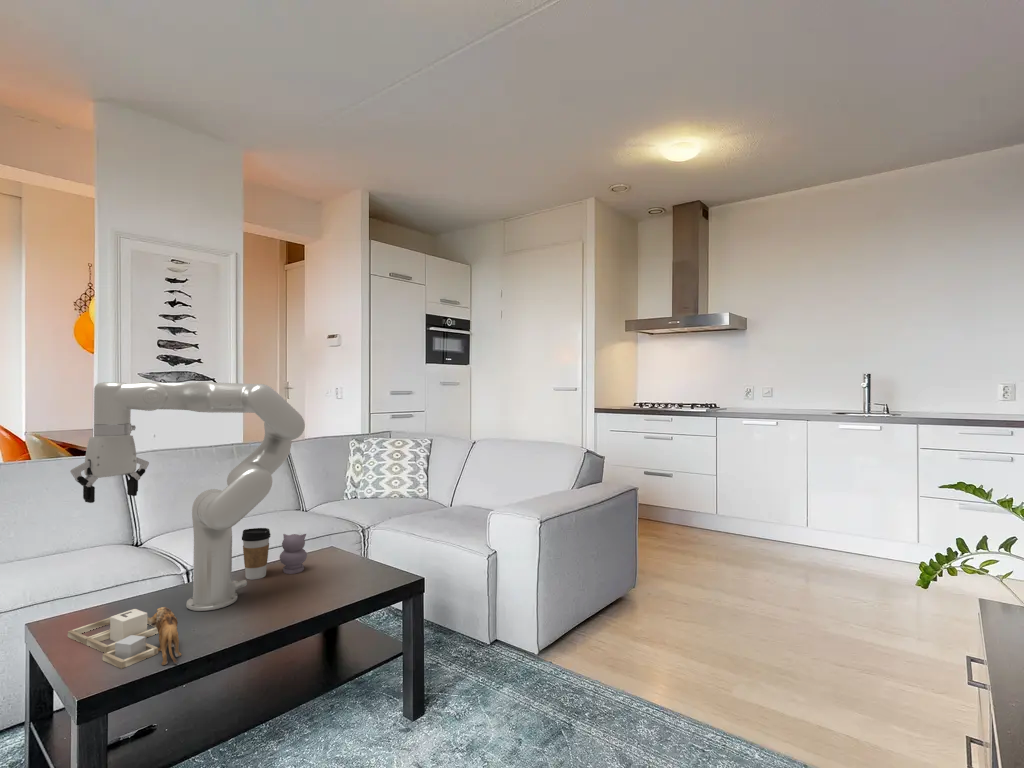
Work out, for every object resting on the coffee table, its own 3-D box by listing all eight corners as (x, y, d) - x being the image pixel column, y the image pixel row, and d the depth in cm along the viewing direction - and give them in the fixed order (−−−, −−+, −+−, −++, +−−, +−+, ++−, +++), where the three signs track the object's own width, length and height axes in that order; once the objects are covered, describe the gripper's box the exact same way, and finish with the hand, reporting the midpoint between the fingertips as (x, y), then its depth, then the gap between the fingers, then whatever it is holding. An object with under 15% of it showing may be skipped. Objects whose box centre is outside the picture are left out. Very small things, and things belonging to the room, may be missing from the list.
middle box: (149, 622, 141) (149, 617, 141) (168, 629, 137) (168, 624, 137) (86, 645, 129) (86, 639, 129) (105, 653, 125) (105, 647, 125)
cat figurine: (275, 574, 178) (275, 537, 178) (285, 566, 185) (285, 531, 186) (301, 574, 178) (302, 537, 178) (310, 566, 186) (310, 531, 186)
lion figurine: (146, 647, 128) (146, 608, 128) (172, 639, 132) (172, 602, 132) (164, 669, 118) (164, 627, 118) (191, 661, 122) (192, 620, 122)
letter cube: (134, 630, 137) (134, 608, 137) (147, 635, 134) (147, 612, 134) (110, 639, 132) (110, 616, 132) (122, 644, 129) (122, 621, 129)
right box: (130, 615, 145) (130, 610, 145) (148, 622, 141) (148, 617, 141) (67, 637, 133) (67, 631, 133) (85, 644, 129) (85, 638, 129)
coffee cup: (237, 576, 176) (237, 529, 176) (264, 570, 182) (264, 524, 182) (246, 583, 170) (247, 534, 170) (274, 576, 176) (274, 529, 176)
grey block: (130, 652, 126) (131, 635, 126) (145, 654, 125) (145, 636, 125) (115, 661, 122) (115, 642, 122) (130, 662, 121) (130, 644, 121)
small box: (139, 646, 128) (139, 640, 128) (158, 653, 125) (158, 647, 125) (102, 660, 122) (102, 654, 122) (121, 668, 118) (121, 662, 118)
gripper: (140, 428, 148) (139, 491, 148) (64, 432, 133) (63, 503, 133) (156, 429, 145) (155, 494, 145) (80, 434, 129) (79, 506, 129)
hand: (111, 498), depth 139 cm, fingers open, 9 cm apart
